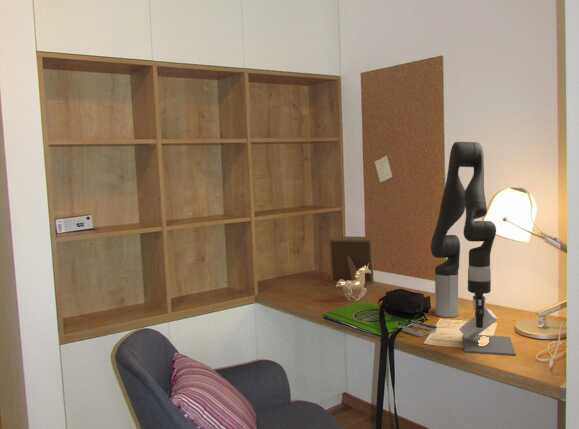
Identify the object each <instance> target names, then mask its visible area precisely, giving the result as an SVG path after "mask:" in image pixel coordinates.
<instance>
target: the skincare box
mask: <svg viewBox="0 0 579 429" xmlns="http://www.w3.org/2000/svg"><path fill="white" fill-rule="evenodd" d="M480 313H482V312H480ZM498 320H499V318H498V317H497V316H496V315H495V313H494V312H493V311H492V310H491V309H488V308H486V307H485V311H484V317H483V328H477V327H476V316H475V315H474V316H473V317H472V318H471V319H469V320H468V321H466V323H464V324H463V325H462V326H460V327H459V331H460V332H461V334H462V336H463V335H464V336H465V338H467V339H470V340H472V339H473V338H475V337H476V336H477V335H481V334H482V332H484V331H485V330H487V329H488V328H489V327H490V326H491V325H493V324H494V323H495V322H497V321H498Z"/></svg>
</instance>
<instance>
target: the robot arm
mask: <svg viewBox="0 0 579 429" xmlns="http://www.w3.org/2000/svg"><path fill="white" fill-rule="evenodd" d="M484 155H485V154H484V149H483V145H482V144H481V143H480V142H476V141H475V142H474V141H455V142H454V143H453V144H452V146H451V149H450V155H449V160H448V161H449V162H448V168H447V174H446V180H445V185H444V191H443V193H442V197H441V202H440V208H439V213H438V218H437V222H436V225H435V228H434V232H433V234H432V235H433V236H432V238H431V242H430V243H431V244H430V252H431V254H432V256H433V257H434V258H438V259H441V258H442V259H444V258H446V260H445V261H444V262H442V263H440V264H438V265H436V266H435V268H434V314H435V315H436V316H438V317H442V318H454V317H457V316H458V315H459V270H460V257H461V256H460V254H461V243H460V239H459V236H458V235H456V234H448V232H449V230H450V229H451V228H452V226H454V225H455V224H456V222H458V221H459V220H460V219H461V217H462V216H463V214H464V213H465V220H464V222H465V223H464V226H463V232H462V233H463V237H464V238H465V240H467V241H468V242H473V243H474V242H482V244H481V245H480V246H477V247H473V248H470V249H469V251H468V268H467V291H468V292H469V293H471V294H474V295H473V296H472V303H473V310H474V317H475V316H476V327H477V328H483V317H484V311H485V308H486V305H485V304H486V297H485V296H484V294H486V295H487V294H489V293H491V291H492V290H491V288H492V286H491V285H492V284H491V282H492V278H491V276H492V273H491V270H492V269H491V252H492V248H493V245H494V241H495V238H496V235H497V228H496V224H495V223H494V222H493V221H492V220H476V219H480V218H483V217H485V216H486V215H487V213H488V208H487V202H486V195H485V164H484V163H485V161H484V160H485V156H484ZM460 168H473V175H472V177H471V179H470V181H469V183H468V184H467V186H466V188H465V187H464V185H463V183H462V181H461V178H460V175H459V170H460ZM480 312H482V313H480Z"/></svg>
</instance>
